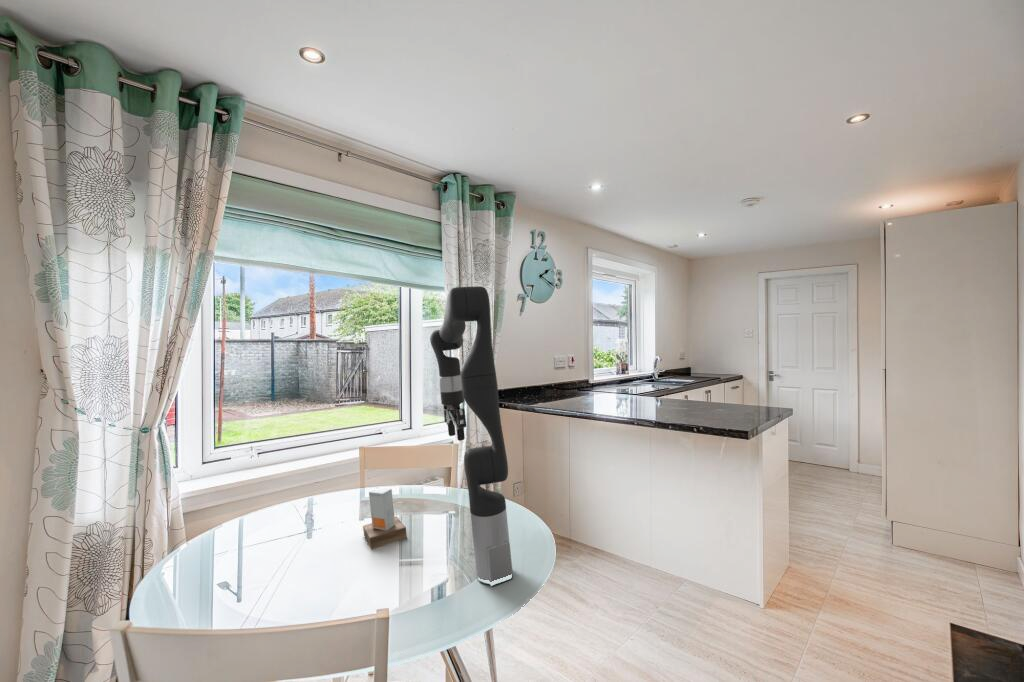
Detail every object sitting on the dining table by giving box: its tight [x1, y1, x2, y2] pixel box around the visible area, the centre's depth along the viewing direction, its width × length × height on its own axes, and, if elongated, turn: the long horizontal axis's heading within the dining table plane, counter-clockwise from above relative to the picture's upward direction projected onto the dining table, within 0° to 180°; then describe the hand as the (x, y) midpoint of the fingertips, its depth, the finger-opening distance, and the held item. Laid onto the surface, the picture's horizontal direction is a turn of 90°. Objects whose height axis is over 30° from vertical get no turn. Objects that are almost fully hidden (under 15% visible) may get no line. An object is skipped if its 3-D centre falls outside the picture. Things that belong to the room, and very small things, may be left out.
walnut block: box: [362, 515, 408, 550], centre depth 146 cm, size 11×11×4 cm
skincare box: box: [368, 487, 395, 531], centre depth 145 cm, size 6×4×12 cm
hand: (456, 437), depth 151 cm, fingers open, 8 cm apart
